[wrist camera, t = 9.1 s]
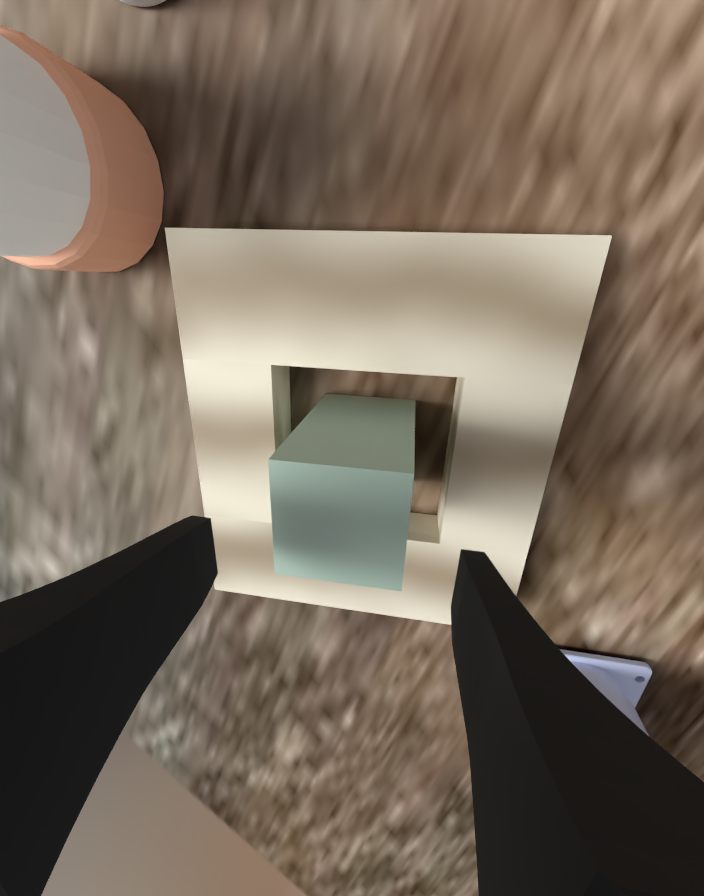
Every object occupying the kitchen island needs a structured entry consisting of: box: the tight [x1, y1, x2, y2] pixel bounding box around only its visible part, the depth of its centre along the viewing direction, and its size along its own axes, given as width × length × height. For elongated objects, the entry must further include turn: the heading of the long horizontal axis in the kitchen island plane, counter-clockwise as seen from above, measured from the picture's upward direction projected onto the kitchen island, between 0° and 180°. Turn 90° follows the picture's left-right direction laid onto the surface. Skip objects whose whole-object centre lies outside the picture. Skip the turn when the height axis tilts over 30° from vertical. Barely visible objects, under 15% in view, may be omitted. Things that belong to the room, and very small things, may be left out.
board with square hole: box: [165, 228, 612, 625], centre depth 18 cm, size 18×16×2 cm
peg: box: [268, 394, 415, 592], centre depth 16 cm, size 4×4×8 cm
